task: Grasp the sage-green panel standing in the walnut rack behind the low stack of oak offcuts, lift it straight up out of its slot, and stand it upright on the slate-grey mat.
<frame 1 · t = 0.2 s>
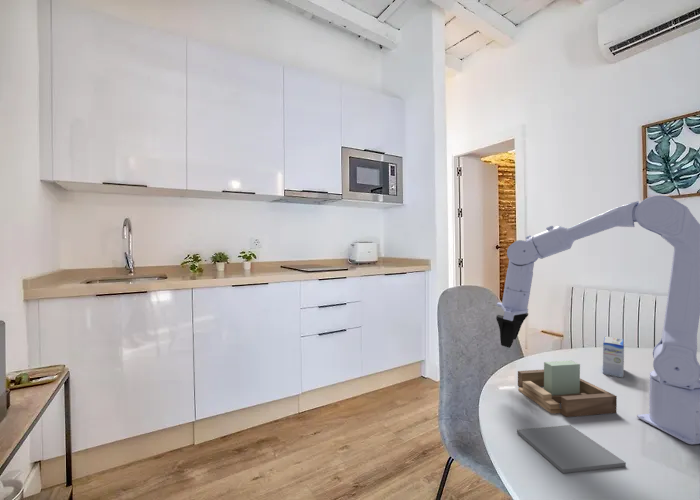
hand: (508, 342, 83), 10 cm above the table, tool pointing down, fingers open, 7 cm apart
panel: (561, 398, 76), resting in rack
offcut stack: (538, 402, 74), on the table
mat: (566, 448, 57), on the table
rack: (561, 397, 76), on the table
medicine box: (613, 372, 91), on the table
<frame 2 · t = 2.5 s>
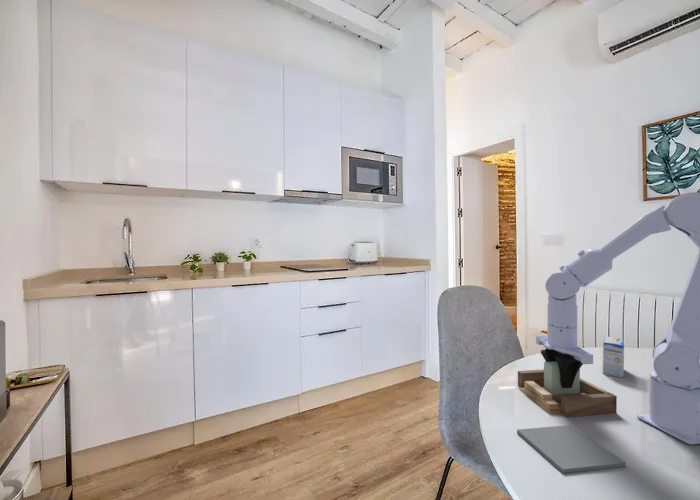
hand: (561, 384, 76), 3 cm above the table, tool pointing down, fingers closed on panel, 2 cm apart
panel: (561, 397, 76), resting in rack, touching gripper
everything else where it was.
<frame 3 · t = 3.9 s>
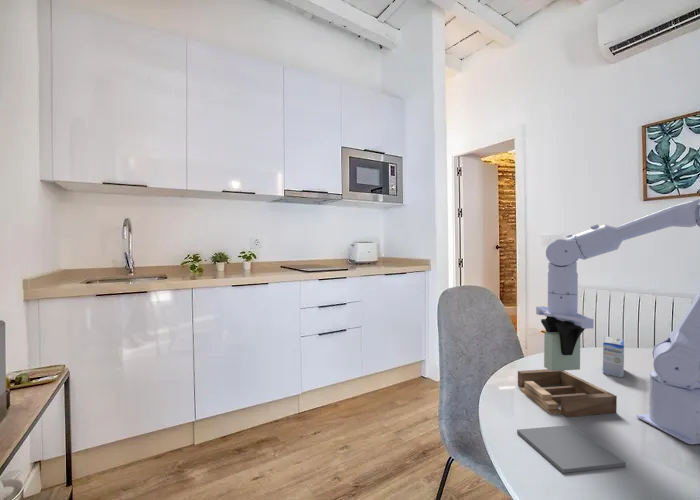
hand: (562, 352, 76), 10 cm above the table, tool pointing down, fingers closed on panel, 2 cm apart
panel: (561, 368, 76), point 7 cm above the table, touching gripper
everything else where it was.
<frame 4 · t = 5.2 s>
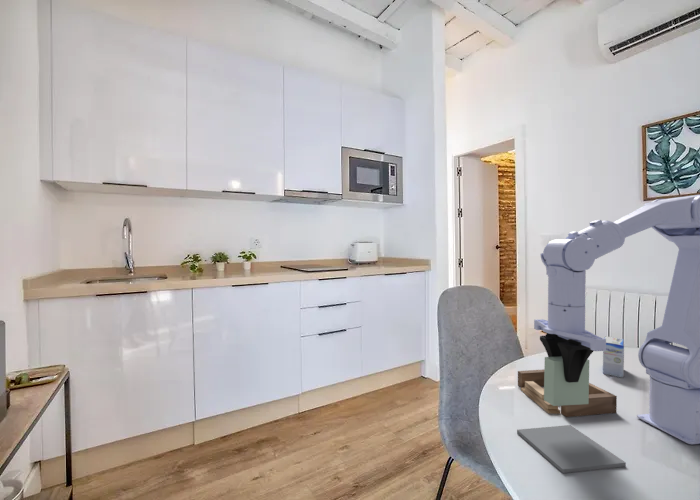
hand: (565, 378, 61), 10 cm above the table, tool pointing down, fingers closed on panel, 2 cm apart
panel: (565, 401, 61), point 6 cm above the table, touching gripper
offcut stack: (539, 402, 74), on the table, touching rack
everything else where it was.
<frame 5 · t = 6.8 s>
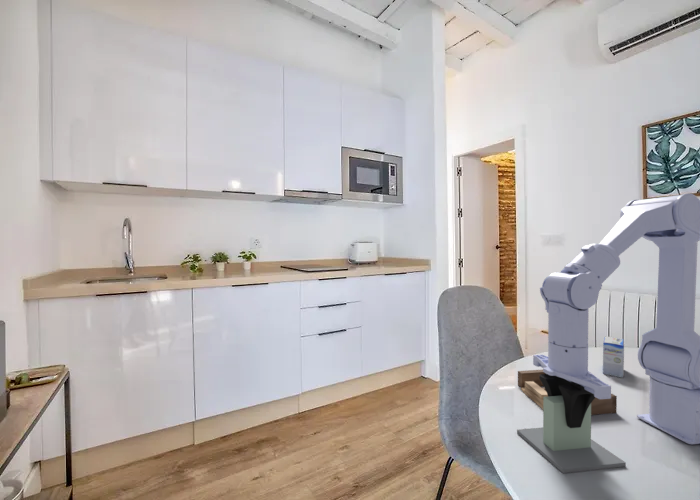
hand: (566, 421, 57), 5 cm above the table, tool pointing down, fingers closed on panel, 2 cm apart
panel: (566, 444, 57), point 1 cm above the table, touching gripper, mat
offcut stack: (538, 402, 74), on the table
everything else where it was.
when the fingers open (4 cm above the table, at t = 7.2 s): panel stays where it is, resting on mat.
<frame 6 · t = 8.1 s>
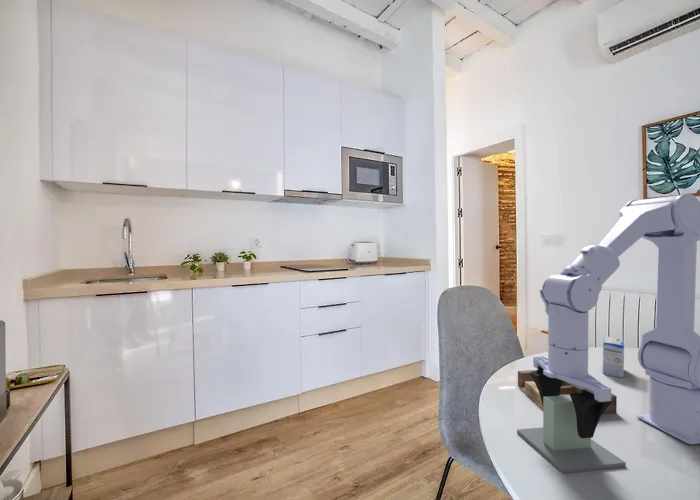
hand: (567, 423, 57), 4 cm above the table, tool pointing down, fingers open, 7 cm apart
panel: (566, 444, 57), point 1 cm above the table, touching mat
everything else where it was.
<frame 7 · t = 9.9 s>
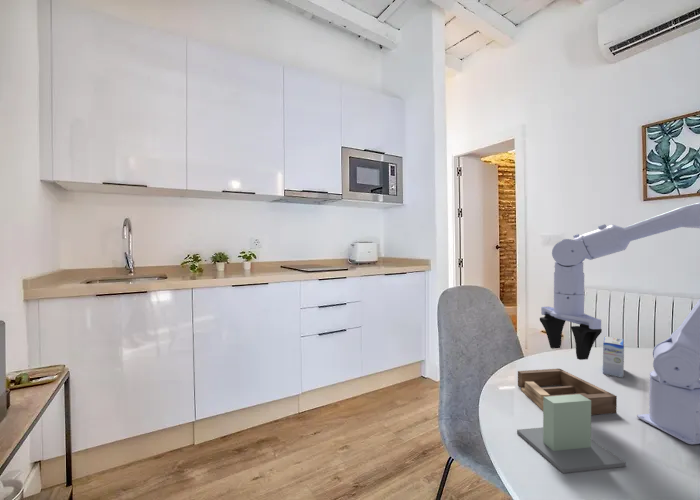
hand: (568, 353, 75), 10 cm above the table, tool pointing down, fingers open, 7 cm apart
nothing on the table moved.
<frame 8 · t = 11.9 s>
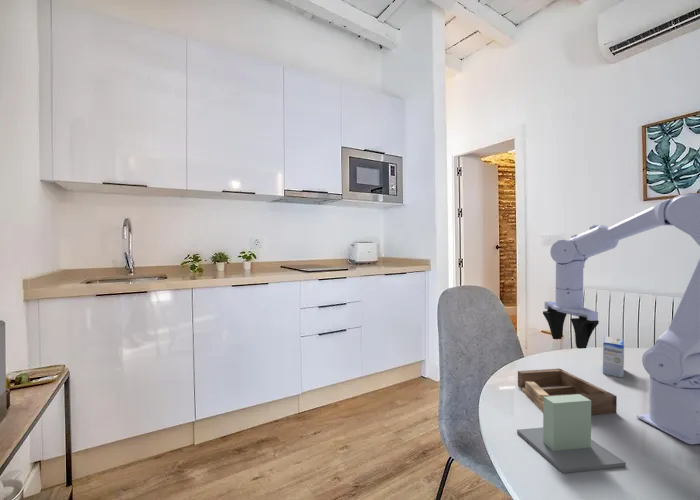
hand: (568, 343, 82), 10 cm above the table, tool pointing down, fingers open, 7 cm apart
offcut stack: (538, 402, 74), on the table, touching rack
everything else where it was.
at the end: panel inside the target area on the mat (0.1 cm from its centre), point 0.6 cm above the mat's base; panel tilted 0°; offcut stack moved 0.5 cm from its start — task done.
